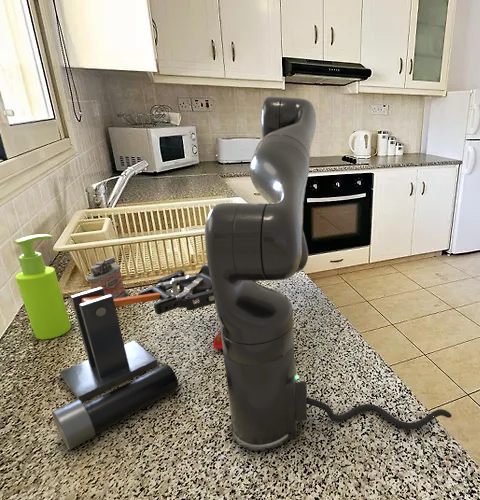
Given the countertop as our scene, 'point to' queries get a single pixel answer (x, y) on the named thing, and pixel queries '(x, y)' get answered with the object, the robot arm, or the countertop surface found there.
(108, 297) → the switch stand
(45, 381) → the countertop surface
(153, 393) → the flashlight
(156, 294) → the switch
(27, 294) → the soap dispenser
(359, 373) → the countertop surface
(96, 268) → the lighter
